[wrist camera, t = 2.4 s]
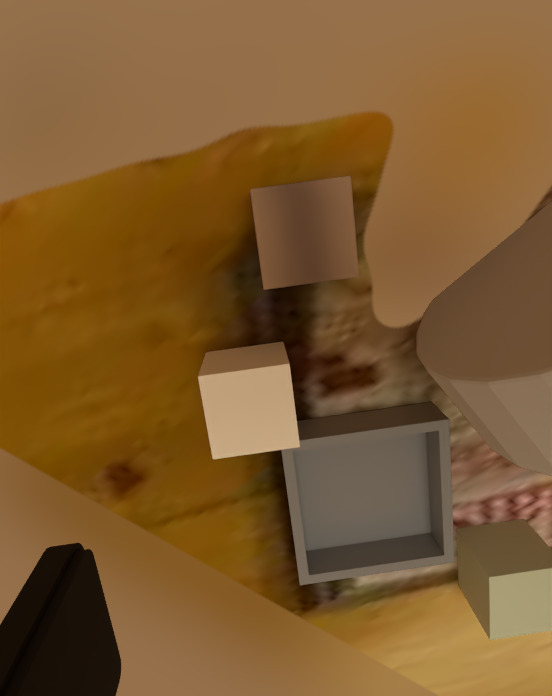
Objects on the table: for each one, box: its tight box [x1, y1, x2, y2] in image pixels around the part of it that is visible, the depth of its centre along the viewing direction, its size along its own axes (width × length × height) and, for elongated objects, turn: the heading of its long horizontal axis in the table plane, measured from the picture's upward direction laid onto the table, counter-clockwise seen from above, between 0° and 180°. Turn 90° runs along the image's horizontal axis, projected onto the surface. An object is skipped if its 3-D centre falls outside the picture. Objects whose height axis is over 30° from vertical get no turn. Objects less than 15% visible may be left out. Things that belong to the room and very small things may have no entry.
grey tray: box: [281, 402, 454, 585], centre depth 39 cm, size 13×13×4 cm
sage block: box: [457, 519, 552, 640], centre depth 40 cm, size 6×6×6 cm
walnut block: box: [250, 176, 359, 290], centre depth 32 cm, size 6×6×6 cm
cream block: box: [198, 342, 300, 459], centre depth 35 cm, size 6×6×6 cm
